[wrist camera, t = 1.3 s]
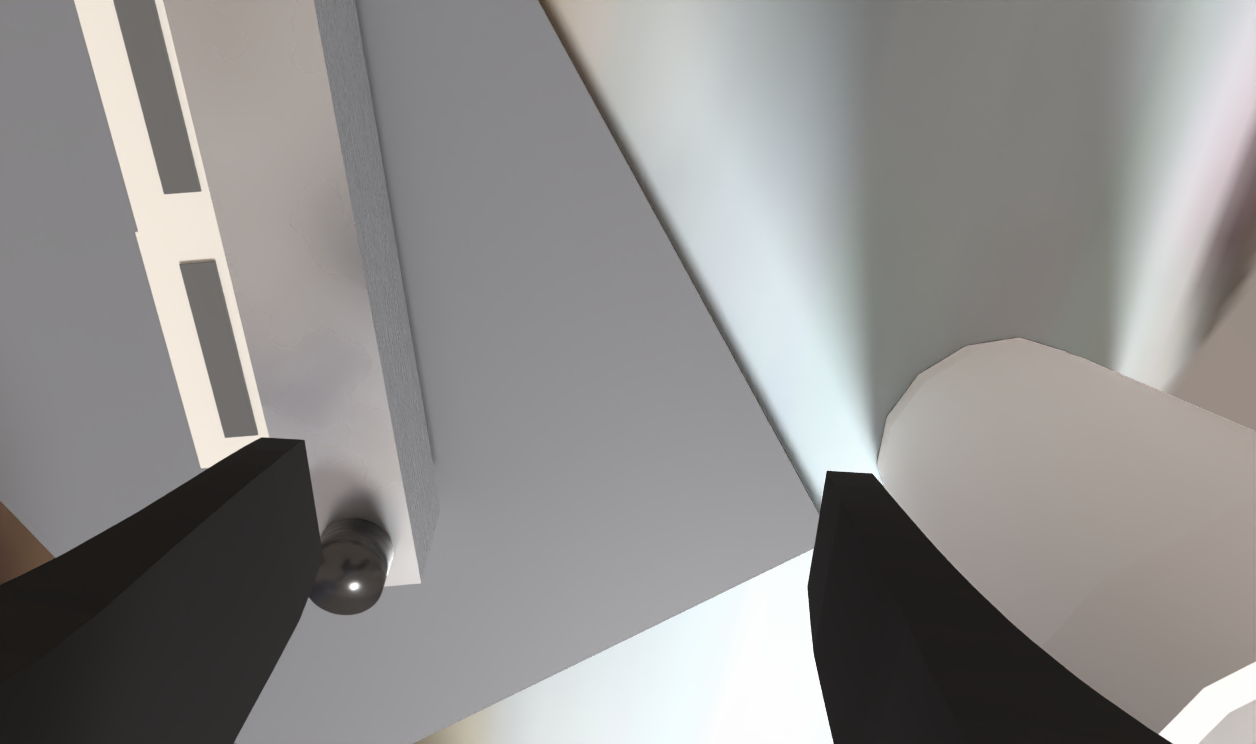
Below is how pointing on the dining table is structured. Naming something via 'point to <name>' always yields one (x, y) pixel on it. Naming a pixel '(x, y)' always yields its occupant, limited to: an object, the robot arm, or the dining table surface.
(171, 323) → the label
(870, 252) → the dining table surface
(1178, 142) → the dining table surface
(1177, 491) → the foam cup
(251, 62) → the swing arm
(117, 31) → the label
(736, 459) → the board
